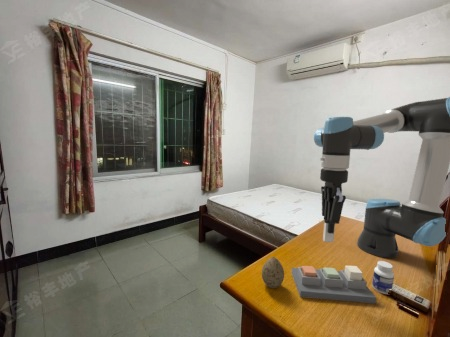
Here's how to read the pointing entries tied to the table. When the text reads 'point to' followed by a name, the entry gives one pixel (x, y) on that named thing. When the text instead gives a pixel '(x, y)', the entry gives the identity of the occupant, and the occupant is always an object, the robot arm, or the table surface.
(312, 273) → the terracotta button
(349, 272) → the cream button
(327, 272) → the sage button
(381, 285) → the pill bottle
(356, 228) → the table surface
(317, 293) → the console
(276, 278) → the decorative egg
